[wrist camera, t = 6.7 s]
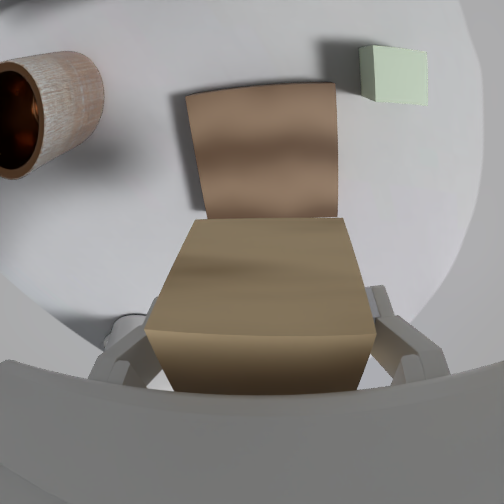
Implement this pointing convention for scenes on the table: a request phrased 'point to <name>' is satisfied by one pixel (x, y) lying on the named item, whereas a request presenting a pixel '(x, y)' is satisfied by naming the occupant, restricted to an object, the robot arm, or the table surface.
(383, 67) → the green cube
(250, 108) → the base plate
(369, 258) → the table surface
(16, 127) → the planter
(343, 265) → the oak cube
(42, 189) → the table surface
